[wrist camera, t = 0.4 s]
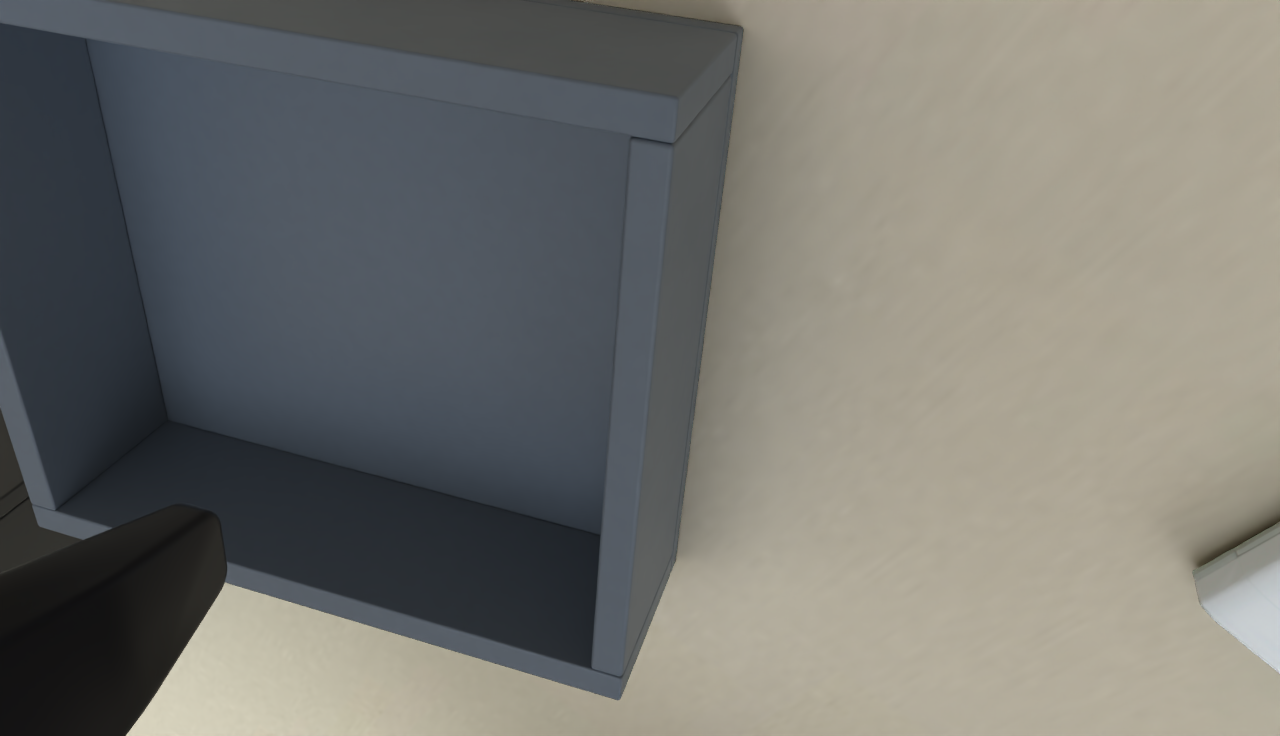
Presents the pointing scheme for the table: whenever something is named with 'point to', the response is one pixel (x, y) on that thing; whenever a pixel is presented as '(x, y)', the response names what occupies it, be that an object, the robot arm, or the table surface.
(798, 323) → the table surface
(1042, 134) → the table surface
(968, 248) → the table surface
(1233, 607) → the hard drive
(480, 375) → the grey bin
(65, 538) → the black bin
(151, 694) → the robot arm
